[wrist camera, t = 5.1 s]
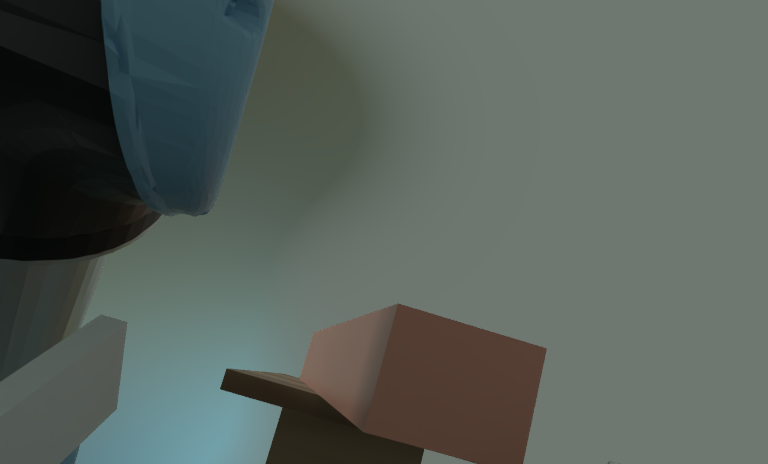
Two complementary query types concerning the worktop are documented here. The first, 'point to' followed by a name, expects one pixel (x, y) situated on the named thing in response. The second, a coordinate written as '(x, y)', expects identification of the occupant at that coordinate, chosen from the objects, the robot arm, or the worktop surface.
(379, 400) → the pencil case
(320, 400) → the shelf stand
